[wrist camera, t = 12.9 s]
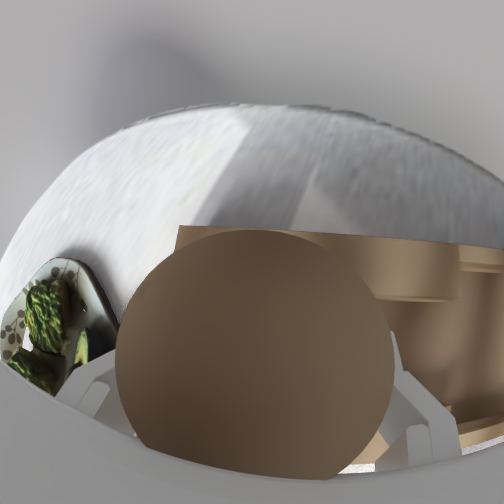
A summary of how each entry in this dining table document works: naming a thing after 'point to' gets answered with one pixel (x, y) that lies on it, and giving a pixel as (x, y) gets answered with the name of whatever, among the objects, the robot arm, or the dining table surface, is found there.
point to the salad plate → (58, 324)
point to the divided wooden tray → (430, 319)
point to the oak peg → (255, 357)
